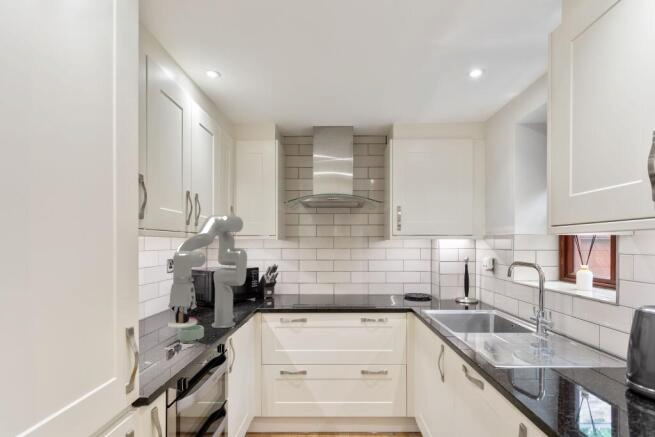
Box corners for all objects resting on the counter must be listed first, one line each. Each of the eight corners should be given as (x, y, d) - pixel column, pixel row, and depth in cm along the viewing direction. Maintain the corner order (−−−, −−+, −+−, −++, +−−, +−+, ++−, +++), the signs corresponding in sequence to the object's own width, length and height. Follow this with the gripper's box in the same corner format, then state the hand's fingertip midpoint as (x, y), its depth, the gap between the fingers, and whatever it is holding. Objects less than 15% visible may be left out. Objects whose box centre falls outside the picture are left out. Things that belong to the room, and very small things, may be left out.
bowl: (186, 334, 178) (186, 324, 179) (207, 335, 177) (207, 325, 177) (173, 341, 167) (173, 330, 168) (195, 342, 166) (195, 331, 166)
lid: (177, 320, 166) (177, 308, 166) (201, 321, 164) (201, 309, 164) (161, 327, 154) (161, 315, 154) (187, 329, 152) (187, 316, 152)
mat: (176, 343, 163) (176, 342, 163) (196, 345, 162) (197, 343, 162) (163, 350, 154) (163, 349, 154) (184, 351, 152) (184, 350, 152)
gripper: (203, 279, 162) (203, 320, 161) (170, 279, 164) (170, 319, 164) (194, 282, 154) (194, 325, 154) (160, 281, 157) (160, 323, 157)
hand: (182, 321), depth 159 cm, fingers closed on lid, 3 cm apart
